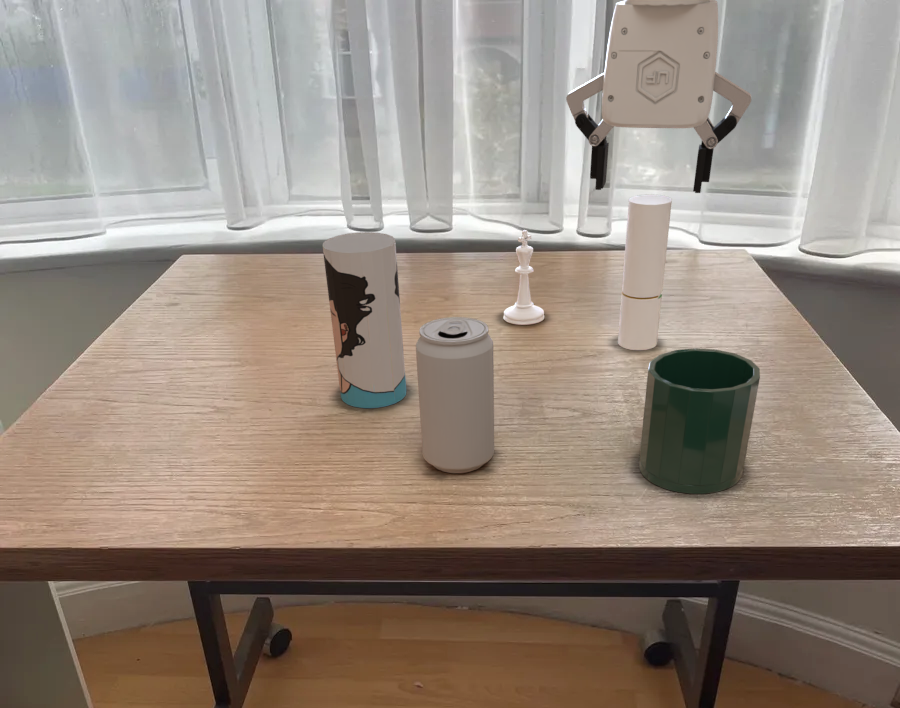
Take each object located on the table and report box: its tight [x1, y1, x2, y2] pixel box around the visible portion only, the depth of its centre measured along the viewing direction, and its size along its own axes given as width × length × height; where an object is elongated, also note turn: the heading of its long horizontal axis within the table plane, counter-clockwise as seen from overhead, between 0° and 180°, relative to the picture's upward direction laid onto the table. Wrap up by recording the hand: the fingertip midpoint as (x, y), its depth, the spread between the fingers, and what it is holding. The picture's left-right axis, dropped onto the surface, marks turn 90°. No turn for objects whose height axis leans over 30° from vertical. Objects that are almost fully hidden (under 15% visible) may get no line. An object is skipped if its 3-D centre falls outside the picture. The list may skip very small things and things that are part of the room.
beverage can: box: [415, 316, 495, 474], centre depth 76 cm, size 6×6×12 cm
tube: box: [617, 193, 673, 351], centre depth 96 cm, size 4×4×15 cm
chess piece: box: [502, 229, 545, 326], centre depth 105 cm, size 5×5×10 cm
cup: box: [321, 231, 407, 409], centre depth 87 cm, size 7×7×15 cm
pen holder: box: [638, 347, 761, 495], centre depth 74 cm, size 9×9×9 cm
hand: (648, 188), depth 91 cm, fingers open, 9 cm apart
